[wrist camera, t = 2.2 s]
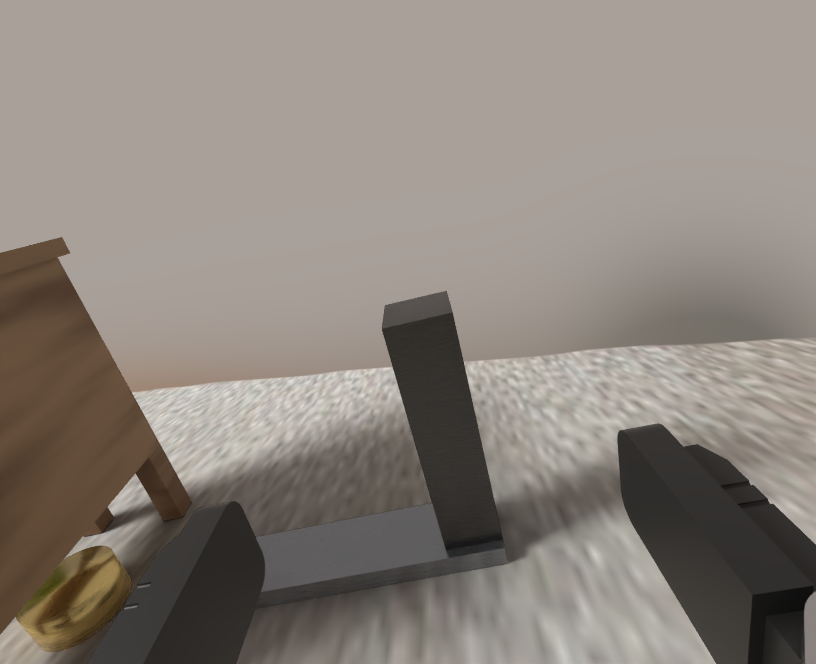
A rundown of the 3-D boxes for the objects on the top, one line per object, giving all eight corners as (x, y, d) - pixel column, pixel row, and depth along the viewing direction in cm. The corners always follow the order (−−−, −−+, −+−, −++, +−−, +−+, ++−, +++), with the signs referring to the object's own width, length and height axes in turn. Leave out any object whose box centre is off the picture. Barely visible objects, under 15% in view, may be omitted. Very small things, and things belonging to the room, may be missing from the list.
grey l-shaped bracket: (494, 507, 27) (445, 287, 22) (508, 564, 23) (453, 316, 18) (169, 568, 29) (52, 380, 23) (134, 631, 25) (-14, 423, 20)
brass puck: (148, 567, 29) (130, 539, 28) (99, 646, 25) (76, 616, 24) (79, 580, 30) (59, 553, 29) (18, 660, 25) (-8, 630, 24)
